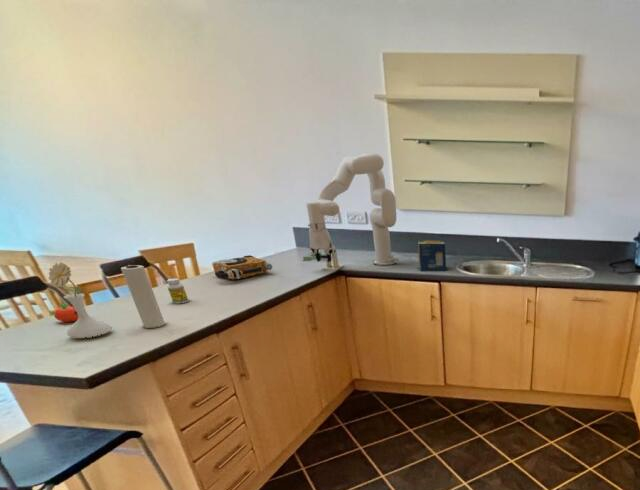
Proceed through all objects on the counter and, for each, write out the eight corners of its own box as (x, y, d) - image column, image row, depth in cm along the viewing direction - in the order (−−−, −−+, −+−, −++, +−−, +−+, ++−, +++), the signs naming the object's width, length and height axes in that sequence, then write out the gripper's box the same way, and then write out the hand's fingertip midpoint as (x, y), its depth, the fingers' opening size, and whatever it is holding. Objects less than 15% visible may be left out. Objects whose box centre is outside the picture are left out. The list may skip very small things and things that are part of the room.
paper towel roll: (161, 327, 150) (138, 268, 140) (141, 329, 148) (116, 268, 138) (169, 321, 156) (148, 263, 146) (150, 322, 154) (127, 264, 144)
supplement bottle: (189, 299, 180) (182, 277, 176) (187, 303, 176) (179, 280, 171) (174, 300, 178) (166, 278, 174) (171, 304, 174) (163, 281, 169)
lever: (327, 259, 227) (326, 255, 226) (318, 259, 227) (317, 254, 226) (336, 252, 237) (335, 248, 236) (327, 252, 237) (326, 247, 236)
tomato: (82, 316, 158) (74, 299, 155) (86, 321, 153) (78, 304, 150) (56, 320, 153) (47, 303, 150) (59, 325, 148) (51, 308, 145)
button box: (329, 258, 265) (328, 251, 264) (322, 261, 257) (321, 254, 255) (310, 257, 265) (309, 250, 264) (303, 260, 257) (302, 253, 255)
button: (319, 252, 261) (319, 250, 260) (317, 254, 258) (316, 251, 257) (314, 252, 261) (313, 249, 260) (311, 253, 258) (311, 250, 257)
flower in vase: (64, 336, 140) (26, 260, 129) (107, 327, 149) (76, 255, 137) (77, 345, 134) (38, 267, 123) (121, 335, 143) (89, 261, 131)
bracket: (336, 271, 235) (333, 249, 230) (322, 270, 235) (318, 249, 230) (343, 267, 244) (340, 246, 239) (329, 266, 244) (326, 246, 239)
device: (278, 258, 221) (221, 268, 197) (282, 274, 225) (226, 285, 201) (252, 253, 230) (194, 262, 207) (256, 268, 234) (199, 278, 210)
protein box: (419, 267, 251) (417, 240, 244) (444, 266, 255) (443, 240, 248) (420, 271, 242) (418, 243, 235) (446, 270, 246) (445, 243, 239)
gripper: (298, 226, 216) (305, 262, 225) (331, 228, 216) (337, 263, 225) (305, 225, 223) (311, 259, 232) (336, 226, 223) (342, 260, 232)
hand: (324, 261), depth 228 cm, fingers closed on lever, 5 cm apart
